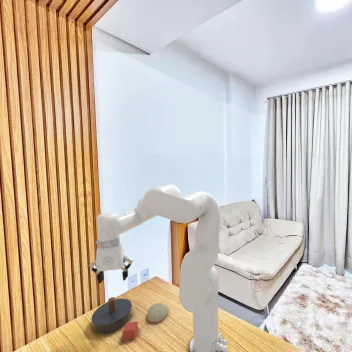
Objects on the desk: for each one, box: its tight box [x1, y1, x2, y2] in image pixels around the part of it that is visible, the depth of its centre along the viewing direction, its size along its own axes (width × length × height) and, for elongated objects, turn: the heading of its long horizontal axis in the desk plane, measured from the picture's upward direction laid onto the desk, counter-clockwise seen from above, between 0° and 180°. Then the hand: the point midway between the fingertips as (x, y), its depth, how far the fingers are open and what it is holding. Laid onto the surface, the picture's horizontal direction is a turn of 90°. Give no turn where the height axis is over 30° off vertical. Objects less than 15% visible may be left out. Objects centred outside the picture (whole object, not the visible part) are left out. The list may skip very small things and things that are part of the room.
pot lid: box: [91, 296, 133, 326], centre depth 91 cm, size 15×15×7 cm
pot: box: [92, 309, 133, 335], centre depth 92 cm, size 15×15×4 cm
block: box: [122, 320, 139, 341], centre depth 84 cm, size 4×4×4 cm
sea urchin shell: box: [146, 302, 169, 323], centre depth 94 cm, size 9×8×8 cm
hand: (113, 280), depth 89 cm, fingers open, 9 cm apart
